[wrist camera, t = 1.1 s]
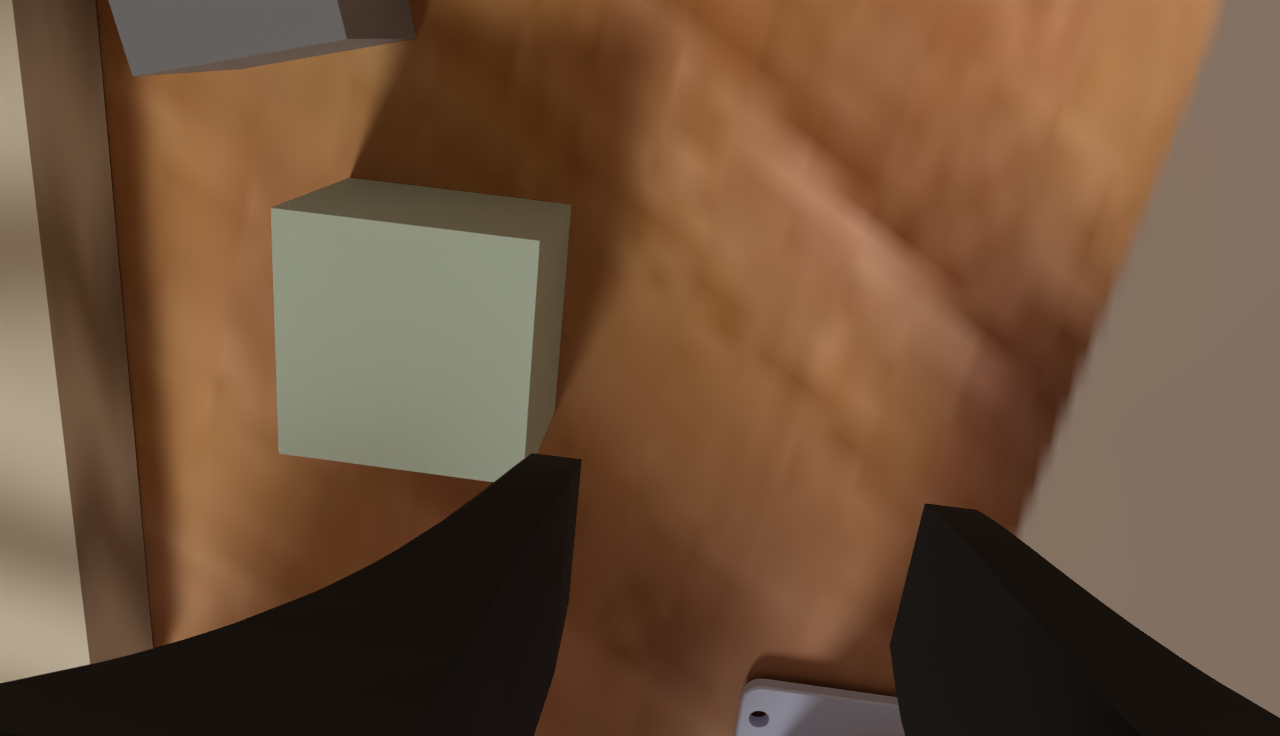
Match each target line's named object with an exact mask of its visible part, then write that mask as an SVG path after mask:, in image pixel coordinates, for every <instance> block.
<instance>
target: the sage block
mask: <svg viewBox="0 0 1280 736" xmlns="http://www.w3.org/2000/svg"><path fill="white" fill-rule="evenodd" d="M571 207H572V204H564V203H556V202H547V201H539V200H531V199H523V198H514V197H506V196H498V195H489V194H481V193H473V192H465V191H456V190H448V189H440V188H432V187H423V186H415V185H407V184H398V183H390V182H382V181H374V180H365V179H357V178H347V179H345V180H342V181H340V182H337V183H334V184H332V185H329V186H327V187H324V188H321V189H319V190H316V191H314V192H311V193H308V194H306V195H303V196H300V197H298V198H295V199H293V200H290V201H287V202H285V203H282V204H280V205H277V206H274V207H272V208H271V229H272V260H273V292H274V324H275V355H276V387H277V418H278V450H279V454H286V455H293V456H301V457H308V458H316V459H323V460H331V461H338V462H346V463H353V464H361V465H368V466H376V467H383V468H391V469H398V470H406V471H413V472H421V473H428V474H436V475H443V476H451V477H458V478H466V479H473V480H481V481H488V482H495V481H496V480H497V479H499V478H500V477H501V476H502V475H504V474H505V473H506V472H507V471H509V470H510V469H511V468H512V467H514V466H515V465H516V464H518V463H519V462H520V461H522V460H523V459H525V458H526V457H527V456H529V455H530V454H531V453H534V454H537V452H538V450H539V448H540V445H541V443H542V441H543V439H544V436H545V434H546V432H547V429H548V427H549V425H550V422H551V420H552V418H553V416H554V413H555V405H556V392H557V380H558V368H559V355H560V343H561V330H562V318H563V306H564V293H565V281H566V269H567V256H568V244H569V231H570V219H571Z"/></svg>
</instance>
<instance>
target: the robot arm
mask: <svg viewBox="0 0 1280 736" xmlns="http://www.w3.org/2000/svg"><path fill="white" fill-rule="evenodd" d="M580 470H581V459H573V458H565V457H558V456H550V455H542V454H534V453H531V454H530V455H529V456H527V457H526V458H525V459H523V460H522V461H520V462H519V463H518V464H516V465H515V466H514V467H512V468H511V469H510V470H509V471H507V472H506V473H505V474H504V475H502V476H501V477H500V478H499V479H497V480H496V481H495V482H494V483H492V484H491V485H490V486H488V487H487V488H486V489H485V490H483V491H482V492H481V493H479V494H478V495H477V496H476V497H474V498H473V499H472V500H470V501H469V502H467V503H466V504H465V505H463V506H462V507H461V508H459V509H458V510H457V511H455V512H454V513H452V514H451V515H450V516H448V517H447V518H446V519H444V520H443V521H441V522H440V523H438V524H437V525H435V526H434V527H432V528H430V529H429V530H427V531H426V532H424V533H423V534H421V535H419V536H418V537H416V538H415V539H413V540H412V541H410V542H409V543H407V544H405V545H404V546H402V547H401V548H399V549H398V550H396V551H394V552H392V553H391V554H389V555H387V556H385V557H384V558H382V559H380V560H378V561H376V562H375V563H373V564H371V565H369V566H367V567H365V568H363V569H361V570H359V571H357V572H355V573H353V574H351V575H349V576H347V577H345V578H343V579H341V580H339V581H337V582H335V583H333V584H331V585H329V586H327V587H324V588H322V589H320V590H318V591H316V592H313V593H311V594H308V595H306V596H303V597H301V598H298V599H296V600H293V601H291V602H288V603H286V604H283V605H280V606H278V607H275V608H273V609H270V610H268V611H265V612H263V613H260V614H258V615H255V616H252V617H250V618H247V619H245V620H242V621H240V622H237V623H234V624H231V625H228V626H225V627H222V628H219V629H216V630H213V631H210V632H207V633H203V634H200V635H197V636H194V637H191V638H188V639H185V640H181V641H178V642H174V643H171V644H167V645H163V646H160V647H156V648H153V649H149V650H146V651H142V652H139V653H135V654H131V655H127V656H123V657H119V658H115V659H111V660H107V661H103V662H98V663H94V664H89V665H84V666H80V667H75V668H70V669H65V670H61V671H56V672H51V673H47V674H42V675H37V676H32V677H28V678H23V679H18V680H14V681H9V682H4V683H0V736H534V733H535V730H536V727H537V724H538V721H539V718H540V715H541V712H542V709H543V706H544V703H545V700H546V697H547V694H548V691H549V687H550V684H551V681H552V678H553V675H554V671H555V667H556V662H557V657H558V652H559V647H560V642H561V637H562V632H563V627H564V622H565V617H566V612H567V607H568V602H569V591H570V580H571V569H572V558H573V547H574V536H575V525H576V514H577V503H578V492H579V481H580ZM890 649H891V657H892V664H893V672H894V680H895V687H896V693H897V697H892V696H885V695H877V694H870V693H863V692H856V691H849V690H842V689H835V688H828V687H820V686H813V685H806V684H799V683H792V682H785V681H778V680H771V679H755V680H752V681H749V682H748V683H747V684H746V685H745V686H744V688H743V690H742V694H741V700H740V706H739V711H738V717H737V723H736V728H735V734H734V736H1280V718H1279V717H1277V716H1275V715H1274V714H1272V713H1270V712H1268V711H1267V710H1265V709H1263V708H1262V707H1260V706H1258V705H1257V704H1255V703H1253V702H1252V701H1250V700H1248V699H1246V698H1245V697H1243V696H1241V695H1240V694H1238V693H1236V692H1235V691H1233V690H1231V689H1229V688H1228V687H1226V686H1224V685H1223V684H1221V683H1219V682H1218V681H1216V680H1215V679H1213V678H1211V677H1210V676H1208V675H1206V674H1205V673H1203V672H1202V671H1200V670H1199V669H1197V668H1196V667H1194V666H1192V665H1191V664H1189V663H1188V662H1186V661H1185V660H1183V659H1182V658H1180V657H1179V656H1177V655H1176V654H1174V653H1173V652H1172V651H1170V650H1169V649H1167V648H1166V647H1164V646H1163V645H1161V644H1160V643H1158V642H1157V641H1155V640H1154V639H1152V638H1151V637H1150V636H1148V635H1147V634H1145V633H1144V632H1142V631H1141V630H1139V629H1138V628H1136V627H1135V626H1134V625H1132V624H1131V623H1129V622H1128V621H1127V620H1125V619H1124V618H1123V617H1121V616H1120V615H1118V614H1117V613H1116V612H1114V611H1113V610H1111V609H1110V608H1109V607H1107V606H1106V605H1105V604H1103V603H1102V602H1101V601H1099V600H1098V599H1097V598H1095V597H1094V596H1092V595H1091V594H1090V593H1089V592H1087V591H1086V590H1085V589H1083V588H1082V587H1081V586H1079V585H1078V584H1077V583H1075V582H1074V581H1073V580H1072V579H1070V578H1069V577H1068V576H1066V575H1065V574H1064V573H1062V572H1061V571H1060V570H1059V569H1057V568H1056V567H1055V566H1053V565H1052V564H1051V563H1049V562H1048V561H1047V560H1046V559H1044V558H1043V557H1041V556H1040V555H1039V554H1038V553H1037V552H1035V551H1034V550H1033V549H1031V548H1030V547H1029V546H1028V545H1026V544H1025V543H1023V542H1022V541H1021V540H1020V539H1018V538H1017V537H1016V536H1014V535H1013V534H1012V533H1010V532H1009V531H1008V530H1006V529H1005V528H1004V527H1002V526H1001V525H999V524H998V523H997V522H995V521H994V520H992V519H991V518H989V517H988V516H986V515H984V514H983V513H981V512H979V511H977V510H973V509H965V508H957V507H949V506H941V505H933V504H926V503H925V505H924V509H923V513H922V517H921V521H920V525H919V529H918V533H917V537H916V541H915V546H914V550H913V554H912V558H911V562H910V566H909V570H908V574H907V578H906V582H905V586H904V590H903V594H902V598H901V602H900V606H899V610H898V614H897V618H896V622H895V627H894V631H893V635H892V639H891V643H890ZM754 711H762V712H765V713H766V715H764V716H762V717H755V716H753V715H751V713H753V712H754Z"/></svg>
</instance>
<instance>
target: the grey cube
mask: <svg viewBox="0 0 1280 736" xmlns="http://www.w3.org/2000/svg"><path fill="white" fill-rule="evenodd" d="M108 1H109V4H110V7H111V10H112V14H113V17H114V20H115V23H116V26H117V29H118V32H119V35H120V39H121V42H122V45H123V48H124V51H125V54H126V57H127V61H128V64H129V67H130V70H131V73H132V76H145V75H160V74H175V73H190V72H204V71H219V70H234V69H243V68H249V67H255V66H261V65H267V64H272V63H278V62H284V61H290V60H296V59H301V58H307V57H313V56H319V55H325V54H330V53H336V52H342V51H348V50H353V49H359V48H365V47H371V46H377V45H382V44H388V43H394V42H400V41H406V40H411V39H417V38H416V33H415V28H414V24H413V19H412V15H411V10H410V6H409V1H408V0H108Z"/></svg>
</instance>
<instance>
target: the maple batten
mask: <svg viewBox="0 0 1280 736" xmlns="http://www.w3.org/2000/svg"><path fill="white" fill-rule="evenodd" d="M149 649H153V642H152V631H151V619H150V608H149V597H148V586H147V574H146V563H145V552H144V540H143V529H142V518H141V507H140V495H139V484H138V473H137V462H136V450H135V439H134V428H133V416H132V405H131V394H130V383H129V371H128V360H127V349H126V338H125V326H124V315H123V304H122V292H121V281H120V270H119V259H118V247H117V236H116V225H115V214H114V202H113V191H112V180H111V168H110V157H109V146H108V135H107V123H106V112H105V101H104V90H103V78H102V67H101V56H100V45H99V33H98V22H97V11H96V0H0V683H4V682H9V681H14V680H18V679H23V678H28V677H32V676H37V675H42V674H47V673H51V672H56V671H61V670H65V669H70V668H75V667H80V666H84V665H89V664H94V663H98V662H103V661H107V660H111V659H115V658H119V657H123V656H127V655H131V654H135V653H139V652H142V651H146V650H149Z"/></svg>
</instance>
